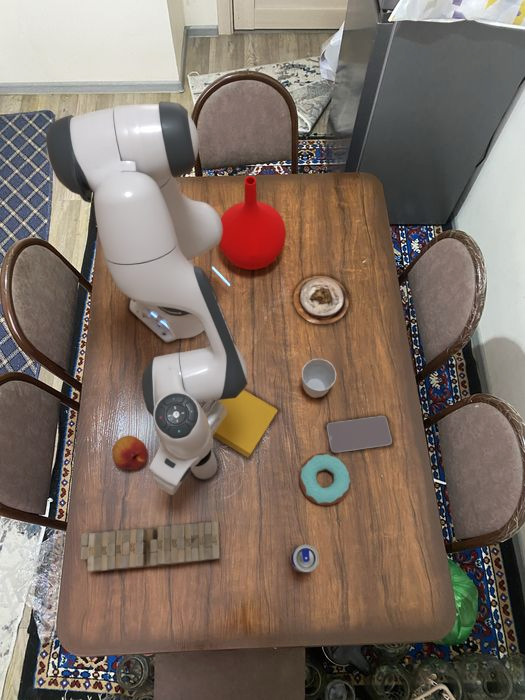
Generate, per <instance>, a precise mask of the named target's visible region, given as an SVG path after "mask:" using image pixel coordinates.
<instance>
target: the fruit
mask: <svg viewBox="0 0 525 700" xmlns="http://www.w3.org/2000/svg"><path fill="white" fill-rule="evenodd" d="M111 450H112V451H111V452H112V455H111V456H112V460H113V463H114V464H115V466H117V467H119V468H121V469H126V470H136V469H139V468H140V467H142V466H144V465H145V464H146V462H147V460H148V456H149V455H148V453H149V452H148V449H147V446H146V445H145V443H144V442H143V441H142V440H140V439H139V438H138V437H136V436H133V435H125V436H122V437H120V438H119V439H117V440H116V441H115V443H114V444H113V447H112V449H111Z"/></svg>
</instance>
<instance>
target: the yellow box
mask: <svg viewBox="0 0 525 700" xmlns="http://www.w3.org/2000/svg"><path fill="white" fill-rule="evenodd" d="M221 404H222V405H224V406H225V407H226V408H227V411H228V412H227V415H226V417H225V418H224V420H223V421H222V423H221V424H220V426H219V427H218V429H217V430H216V432H215V433H214V435H213V439H216V440H218V441H219V442H221V443H222V444H224V445H226V446H227V447H229V448H231V449H232V450H234V451H236V452H237V453H239V454H241V456H243V457H245V458H246V459H249V458H250V456H251V455H252V453H253V452H254V450H255V449H256V447H257V445H258V444H259V442H260V440H261V439H262V438H263V435H264V434H265V432H266V431H267V429H268V428H269V426H270V425H271V423H272V421H273V419H274V418H275V416H276V415H277V413H278V411H279V410H278V409H277V408H276V407H274V406H272V405H270V404H269V403H267V402H265V401H264V400H262V399H260V398H258V397H257V396H255V395H253V394H251V393H250V392H248V391H246V390H245V389H243V391H242V392H241V393H240V394H239V395H238V396H237V397H236V398H231V399H222V401H221Z"/></svg>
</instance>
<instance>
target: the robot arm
mask: <svg viewBox="0 0 525 700" xmlns="http://www.w3.org/2000/svg"><path fill="white" fill-rule="evenodd" d="M45 143H46V147H45V148H46V155H47V156H46V157H47V160H48V163H49V166H50V167H51V169H52V171H53V173H54V175H55V177H56V178H57V180H58V182H59V183H60V184H61V185H62V186H64V187H65V188H66V189H67V190H68V191H70V192H71V193H73V194H76V195H79V197H80V198H81V199H82V200H83V201H84V202H85V203H89V204H92V201H93V205H94V214H95V223H96V228H97V232H98V238H99V242H100V246H101V248H102V249H101V250H102V257H103V262H104V264H105V267H106V270H108V272H109V273H110V276H111V278H112V280H113V283H114V285H115V286H116V288H117V289H118V290H119V291H120V292H121V294H124V296H126V297H128V298H129V299H130V302H129V310H130V312H132V314H133V315H134V316H136V318H138V319H139V320H140V321H141V322H142V323H143V324H144V325H146V327H148V328H149V329H150V330H151V331H152V332H153V333H155V334H156V335H157V336H158V337H159V338H160V339H161V340H163V342H164V343H170V342H173V341H176V340H177V339H178V340H179V339H189V338H190V339H191V338H194V337H196V336H198V335H200V334H202V333H203V332H205V336H206V337H207V340H208V342H209V344H210V345H208V346H206V347H202V348H196V349H191V350H187V351H186V350H185V351H181V352H174V353H169V354H168V353H167V354H163V355H159V356H154V357H153V358H151V359H150V360H149V362H148V364H147V365H146V367H145V368H144V371H143V373H142V377H141V389H142V396H143V400H144V405H145V407H146V410H147V412H148V414H150V415H151V417H153V425H154V429H155V432H156V435H157V437H158V439H159V440H160V443H159V447H158V449H157V451H156V452H155V455H154V456H153V459H152V461H151V462H150V463H149V464H150V465H149V469H148V470H150V471H151V472H152V476H153V477H152V478H153V481H154V483H155V484H156V486H157V487H158V488H160V489H161V490H163V491H164V492H165V493H167V494H169V496H170V495H171V496H174V495H175V494H176V492H177V491H178V489H179V488H180V486H181V485H182V483H183V482H184V480H185V479H186V477H187V476H188V475H189V474H190V472H192V471H191V469H192V468H193V467H194V466H195V465H197V464H198V463H199V462H200V460H201V459H203V458H204V457H205V456H206V455H207V454H208V453H209V451H210V449H211V448H213V444H214V437H213V435H214V433H215V432H216V430H217V429H218V427H219V426H220V424H221V423H222V421H223V420H224V418H225V417H226V415H227V412H228V411H227V408H226V407H225V406H224V405H222V404H221V401H222V399H231V398H236V397H237V396H238V395H239V394H240V393H241V392H242V391H243V390H245V389H246V387H247V386H248V379H249V372H248V366H247V363H246V359H245V357H244V356H243V354H242V352H241V351H240V349H239V347H238V346H237V343H236V341H235V339H234V336H233V334H232V331H231V329H230V326H229V323H228V322H227V319H226V317H225V314H224V311H223V309H222V306H221V304H220V302H219V299H218V297H217V295H216V292H215V289H214V287H213V284H212V282H211V280H210V279H209V277H208V275H207V273H206V272H205V271H204V269H203V268H201V267H199V266H197V265H196V264H195V262H194V261H193V260H194V259H196V258H198V257H201V256H203V255H204V254H206V253H208V252H209V251H211V250H212V249H214V248H215V247H217V246H218V245H219V243H220V241H221V238H222V233H223V226H222V222H221V217H220V214H219V213H218V212H217V211H216V209H215V208H214V207H213V206H211V205H210V204H208V203H206V202H205V201H200V200H199V201H198V200H194V199H191V198H189V197H187V196H186V195H185V194H183V192H182V190H181V188H180V186H179V183H178V180H177V178H178V177H180V176H185V175H187V174H188V173H191V171H193V169H194V168H195V166H196V165H197V159H198V155H199V150H200V139H199V133H198V129H197V126H196V124H195V121H194V120H193V119H192V117H191V116H190V114H189V111H188V109H187V108H185V107H184V106H183V105H182V104H181V103H179V102H173V101H159V102H158V103H135V104H123V105H114V107H109V108H102V109H98V110H94V111H89V112H86V113H82V114H79V115H76V116H74V115H72V114H69V115H66V116H63V117H61V118H58V119H56V120H54V121H52V122H51V123H50V125H49V126H48V129H47V131H46V135H45ZM93 194H94V195H93ZM211 268H212V270H213V271H214V272H215V273H216V275H217V276H219V277H220V278H221V279H222V281H223V282H224V283H225V284H226V285H227V286H228V287H230V286H231V284H230V282H228V280H227V279H226V278H225V277H224V276H223V275H222V274H221V273H220V272H219V271H218V270H217V269H216V268H215V267H214V266H212V267H211ZM201 403H204V404H203V406H201V405H200V404H201Z"/></svg>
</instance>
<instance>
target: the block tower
mask: <svg viewBox="0 0 525 700" xmlns="http://www.w3.org/2000/svg"><path fill="white" fill-rule="evenodd" d="M80 538H81V539H80V546H81V547H80V560H86V561H87V566H86V571H87V572H105V571H107V572H108V571H112V570H130V569H139V568H140V569H141V568H150V567H163V566H168V565H180V564H182V565H183V564H190V563H197V562H204V561H213V560H220V559H221V542H220V522H219V521H218V520H213V521H206V522H198V523H196V522H195V523H185V524H175V525H173V524H172V525H168V526H167V525H166V526H165V525H158V526H157V529H155V528H147V529H144V528H131V529H125V530H124V529H120V530H111V531H102V532H100V531H99V532H90V533H88V532H83V533H81V537H80Z"/></svg>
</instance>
